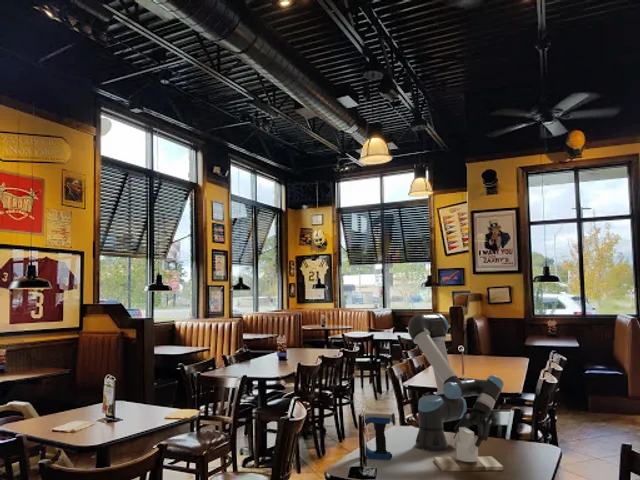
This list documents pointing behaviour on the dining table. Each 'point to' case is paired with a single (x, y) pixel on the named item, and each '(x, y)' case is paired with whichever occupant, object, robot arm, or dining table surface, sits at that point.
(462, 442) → the base with upright slab
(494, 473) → the dining table surface
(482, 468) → the pine board
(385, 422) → the cordless power drill
